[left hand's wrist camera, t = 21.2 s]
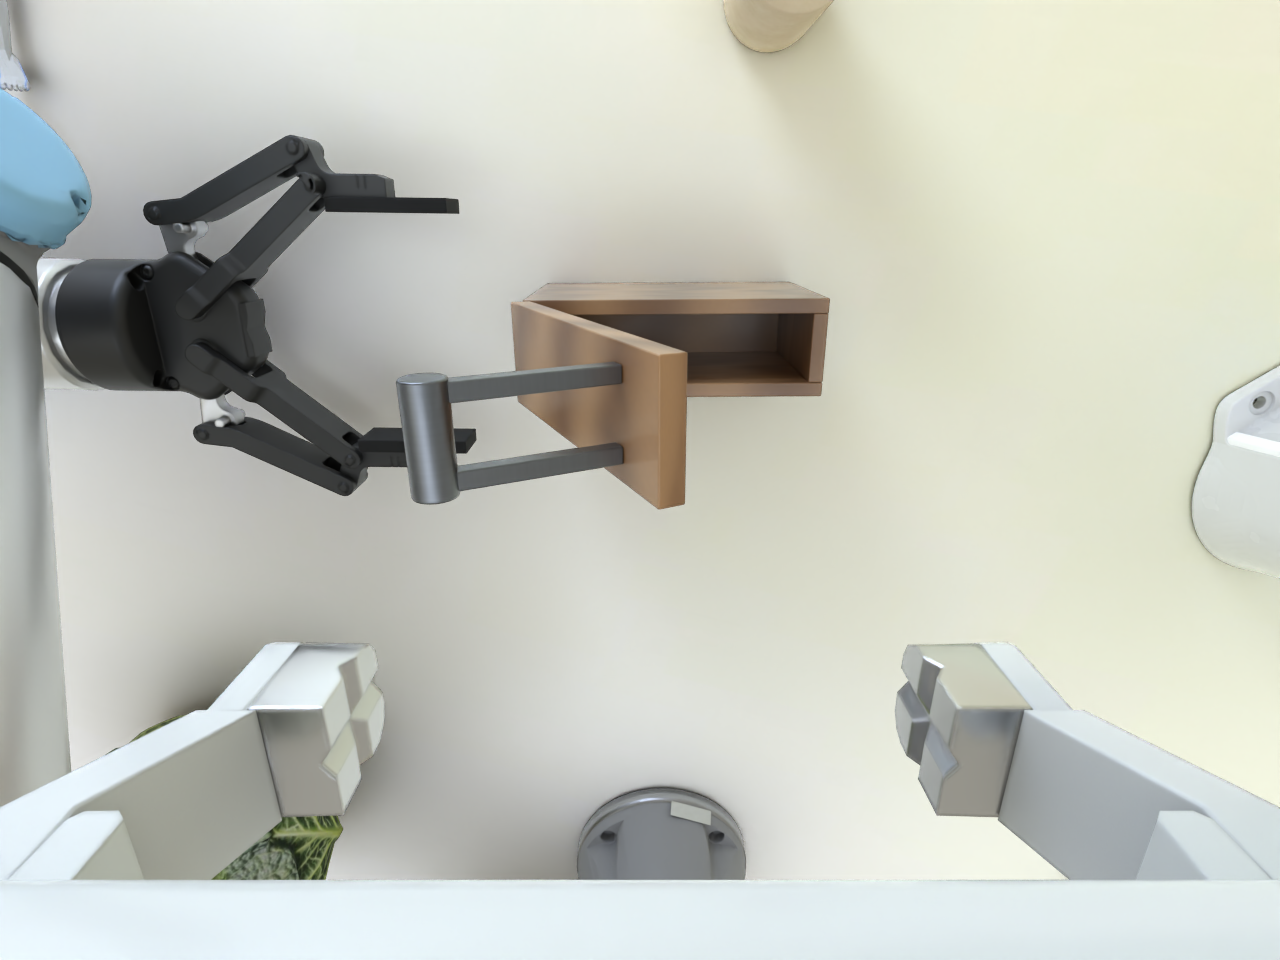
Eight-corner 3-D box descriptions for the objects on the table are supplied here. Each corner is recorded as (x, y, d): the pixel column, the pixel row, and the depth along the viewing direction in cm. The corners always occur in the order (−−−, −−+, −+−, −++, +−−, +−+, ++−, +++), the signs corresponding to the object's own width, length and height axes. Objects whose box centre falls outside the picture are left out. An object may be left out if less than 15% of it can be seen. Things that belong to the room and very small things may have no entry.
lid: (688, 352, 22) (408, 379, 18) (685, 504, 24) (431, 555, 20) (530, 300, 36) (354, 310, 32) (536, 399, 38) (370, 419, 34)
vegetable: (354, 671, 65) (288, 717, 45) (379, 884, 63) (322, 1027, 43) (117, 715, 61) (-68, 786, 41) (137, 944, 59) (-47, 1132, 39)
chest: (790, 281, 46) (830, 298, 36) (784, 360, 48) (821, 396, 38) (547, 283, 46) (522, 300, 36) (551, 362, 48) (528, 398, 38)
